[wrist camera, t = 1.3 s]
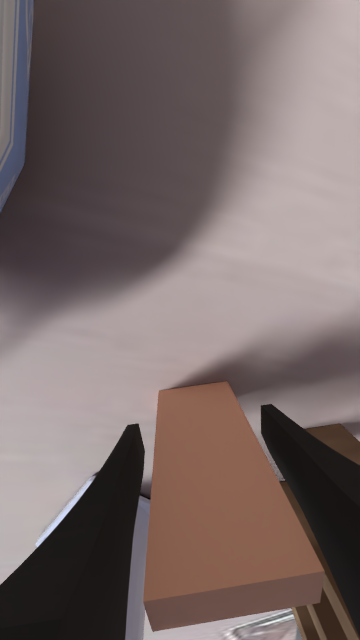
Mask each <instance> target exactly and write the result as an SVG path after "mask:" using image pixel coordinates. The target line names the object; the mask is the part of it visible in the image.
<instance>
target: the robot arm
mask: <svg viewBox="0 0 360 640" xmlns="http://www.w3.org/2000/svg"><path fill="white" fill-rule="evenodd" d="M261 434H262V436H263V439H264V441H265V443H266V445H267V448H268V450H269V452H270V454H271V456H272V458H273V459H274V461H275V463H276V465H277V466H278V468H279V470H280V472H281V473H282V475H283V477H284V479H285V480H286V482H287V484H288V486H289V487H290V489H291V491H292V493H293V494H294V496H295V498H296V500H297V502H298V503H299V505H300V507H301V509H302V511H303V513H304V515H305V517H306V519H307V521H308V524H309V526H310V528H311V530H312V532H313V534H314V536H315V538H316V540H317V543H318V545H319V547H320V549H321V551H322V553H323V556H324V558H325V560H326V562H327V564H328V566H329V569H330V571H331V573H332V575H333V578H334V580H335V582H336V584H337V587H338V589H339V591H340V593H341V596H342V598H343V600H344V602H345V605H346V607H347V609H348V612H349V614H350V616H351V619H352V621H353V624H354V626H355V628H356V631H357V633H358V635H359V638H360V465H358V464H357V463H355V462H353V461H352V460H350V459H348V458H347V457H345V456H343V455H342V454H340V453H338V452H337V451H335V450H334V449H332V448H330V447H329V446H327V445H326V444H325V443H323V442H322V441H320V440H319V439H317V438H316V437H314V436H313V435H311V434H310V433H309V432H307V431H306V430H304V429H303V428H302V427H300V426H299V425H298V424H296V423H295V422H294V421H292V420H291V419H290V418H289V417H287V416H286V415H285V414H283V413H282V412H281V411H280V410H278V409H277V408H276V407H274V406H273V405H272V404H268V405H261ZM144 455H145V450H144V445H143V441H142V437H141V432H140V428H139V424H132V425H128V426H127V427H126V429H125V430H124V432H123V434H122V436H121V437H120V439H119V441H118V443H117V444H116V446H115V448H114V449H113V451H112V452H111V454H110V456H109V457H108V459H107V460H106V462H105V464H104V465H103V467H102V468H101V470H100V471H99V472H98V474H97V475H96V476H92V477H91V478H89V480H88V481H87V482H86V483H85V484H84V486H83V487H82V488H81V489H80V490H79V491H78V493H77V494H76V495H75V496H74V497H73V498H72V500H71V501H70V502H69V503H68V504H67V506H66V507H65V508H64V509H63V510H62V511H61V513H60V514H59V515H58V516H57V517H56V518H55V520H54V521H53V522H52V523H51V524H50V525H49V527H48V528H47V529H46V530H45V531H44V533H43V534H42V535H41V536H40V537H39V538H38V540H37V543H36V547H37V548H36V549H35V551H34V552H33V553H32V554H31V555H30V556H29V557H28V558H27V559H26V560H25V561H24V562H23V563H22V564H21V565H20V566H19V567H18V568H17V569H16V570H15V571H14V572H13V573H12V574H11V575H10V576H9V577H8V578H7V579H6V580H5V581H4V582H3V583H2V584H1V585H0V640H143V635H144V620H145V607H144V604H143V594H144V581H145V567H146V554H147V541H148V527H149V514H150V501H151V500H149V499H147V498H145V497H142V496H140V490H141V484H142V478H143V470H144Z"/></svg>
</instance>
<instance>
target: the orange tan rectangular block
mask: <svg viewBox="0 0 360 640" xmlns="http://www.w3.org/2000/svg"><path fill="white" fill-rule="evenodd" d="M324 572H325V571H324V569H323V567H322V565H321V563H320V561H319V559H318V557H317V555H316V553H315V551H314V549H313V547H312V545H311V543H310V541H309V539H308V537H307V536H306V534H305V532H304V530H303V528H302V526H301V524H300V522H299V520H298V518H297V516H296V514H295V512H294V510H293V508H292V506H291V504H290V502H289V500H288V498H287V496H286V494H285V493H284V491H283V489H282V487H281V485H280V483H279V481H278V479H277V477H276V475H275V473H274V471H273V469H272V467H271V465H270V463H269V461H268V459H267V457H266V455H265V453H264V452H263V450H262V448H261V446H260V444H259V442H258V440H257V438H256V436H255V434H254V432H253V430H252V428H251V426H250V424H249V422H248V420H247V418H246V416H245V414H244V412H243V410H242V409H241V407H240V405H239V403H238V401H237V399H236V397H235V395H234V393H233V391H232V389H231V387H230V385H229V383H228V381H224V382H217V383H210V384H203V385H196V386H189V387H182V388H175V389H168V390H161V391H159V394H158V407H157V421H156V434H155V447H154V461H153V474H152V487H151V501H150V514H149V527H148V541H147V554H146V567H145V581H144V594H143V604H144V607H145V610H146V613H147V616H148V619H149V622H150V625H151V628H152V631H153V632H154V631H159V630H165V629H171V628H177V627H183V626H188V625H194V624H200V623H206V622H212V621H217V620H223V619H229V618H235V617H240V616H246V615H252V614H258V613H264V612H269V611H275V610H281V609H287V608H293V607H298V606H304V605H310V604H316V603H320V600H321V593H322V586H323V579H324Z"/></svg>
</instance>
